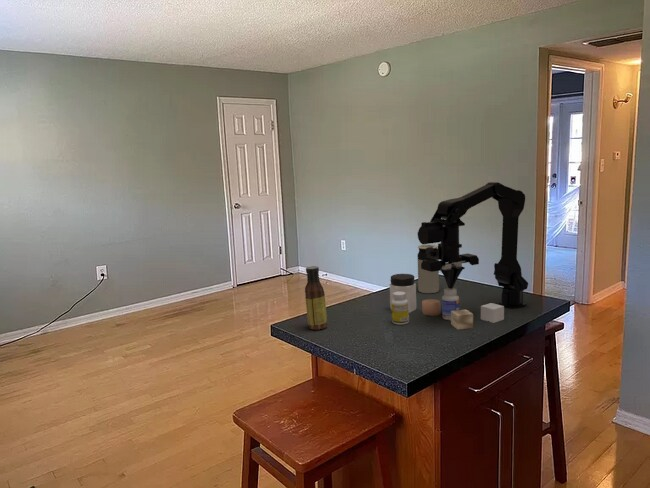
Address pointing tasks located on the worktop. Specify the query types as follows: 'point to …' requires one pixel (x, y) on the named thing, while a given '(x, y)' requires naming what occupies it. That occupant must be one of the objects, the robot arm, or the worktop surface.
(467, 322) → the birch block
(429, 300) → the tan rounded cylinder
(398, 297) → the supplement bottle
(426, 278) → the travel mug
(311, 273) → the sauce bottle
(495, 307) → the grey block
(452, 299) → the pill bottle
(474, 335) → the worktop surface
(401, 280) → the jar
